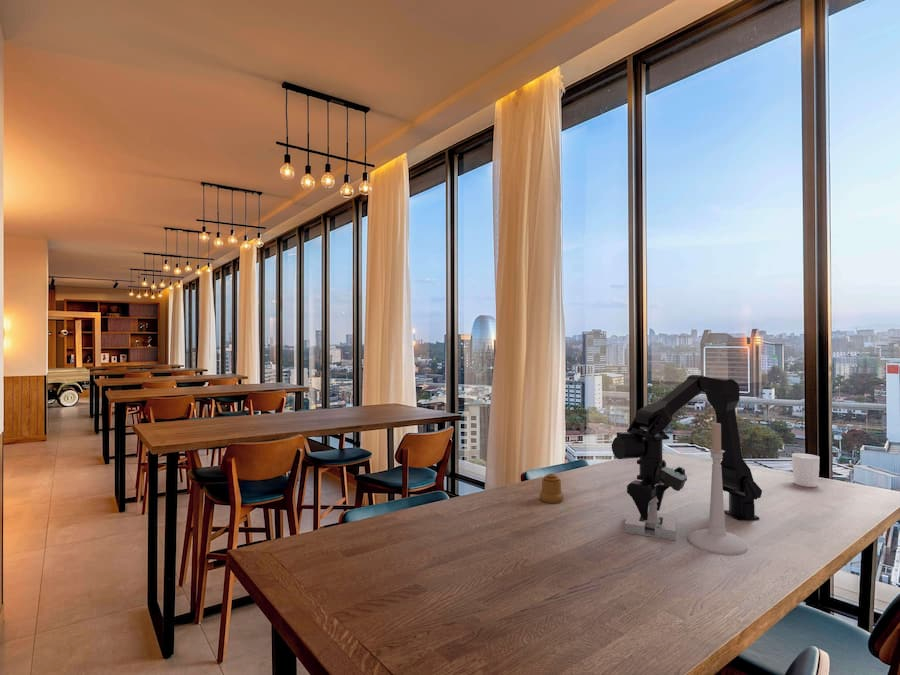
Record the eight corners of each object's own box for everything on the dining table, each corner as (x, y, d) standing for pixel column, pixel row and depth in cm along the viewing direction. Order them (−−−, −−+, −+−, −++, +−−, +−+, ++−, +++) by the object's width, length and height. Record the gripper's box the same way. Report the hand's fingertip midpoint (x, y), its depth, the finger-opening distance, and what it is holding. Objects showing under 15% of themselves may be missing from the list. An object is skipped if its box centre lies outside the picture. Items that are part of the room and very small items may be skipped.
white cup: (786, 482, 172) (786, 454, 172) (800, 480, 175) (800, 452, 175) (811, 488, 164) (811, 459, 165) (825, 486, 168) (824, 456, 168)
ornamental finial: (554, 495, 158) (568, 502, 151) (534, 498, 155) (547, 505, 148) (554, 470, 158) (568, 476, 151) (534, 472, 155) (547, 479, 148)
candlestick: (676, 537, 124) (676, 419, 124) (714, 530, 128) (713, 416, 129) (720, 558, 112) (719, 427, 112) (760, 549, 116) (759, 424, 117)
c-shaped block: (629, 517, 138) (629, 509, 138) (676, 524, 132) (676, 515, 133) (624, 532, 127) (624, 523, 127) (675, 540, 122) (675, 530, 122)
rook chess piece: (659, 524, 131) (659, 494, 131) (662, 530, 127) (662, 499, 127) (641, 522, 132) (641, 493, 132) (644, 528, 128) (644, 498, 128)
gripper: (671, 468, 118) (672, 533, 117) (693, 454, 132) (693, 512, 132) (625, 461, 125) (626, 522, 125) (651, 449, 139) (651, 503, 139)
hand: (651, 515), depth 130 cm, fingers open, 9 cm apart
